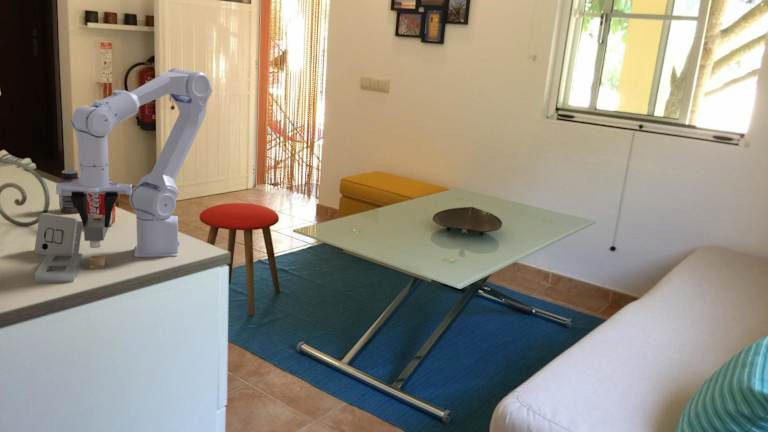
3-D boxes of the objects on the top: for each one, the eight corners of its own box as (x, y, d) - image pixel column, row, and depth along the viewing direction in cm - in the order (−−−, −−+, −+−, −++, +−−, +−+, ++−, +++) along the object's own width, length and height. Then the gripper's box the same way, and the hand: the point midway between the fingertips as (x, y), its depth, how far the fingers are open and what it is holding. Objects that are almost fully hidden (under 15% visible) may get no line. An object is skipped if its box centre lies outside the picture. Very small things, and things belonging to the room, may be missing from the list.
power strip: (108, 235, 141) (107, 213, 139) (103, 248, 133) (102, 225, 131) (91, 236, 140) (90, 213, 138) (84, 249, 131) (83, 225, 130)
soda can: (118, 227, 164) (117, 182, 161) (89, 229, 161) (87, 184, 157) (112, 219, 170) (111, 176, 167) (84, 222, 166) (82, 178, 163)
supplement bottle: (68, 207, 178) (66, 168, 175) (88, 209, 177) (86, 170, 174) (55, 212, 172) (52, 172, 169) (75, 215, 171) (73, 174, 168)
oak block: (105, 263, 140) (105, 255, 139) (104, 268, 137) (103, 260, 136) (92, 264, 139) (91, 255, 138) (90, 269, 136) (89, 260, 135)
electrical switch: (33, 254, 141) (33, 214, 140) (49, 249, 146) (50, 210, 145) (70, 260, 140) (71, 220, 138) (85, 255, 145) (86, 216, 143)
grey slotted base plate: (82, 262, 139) (82, 253, 139) (73, 282, 128) (73, 273, 128) (47, 262, 137) (46, 254, 137) (35, 283, 126) (34, 274, 126)
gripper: (51, 167, 126) (55, 232, 129) (129, 169, 130) (131, 231, 134) (58, 160, 132) (61, 222, 136) (132, 162, 137) (133, 221, 140)
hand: (96, 226), depth 135 cm, fingers closed on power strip, 4 cm apart
